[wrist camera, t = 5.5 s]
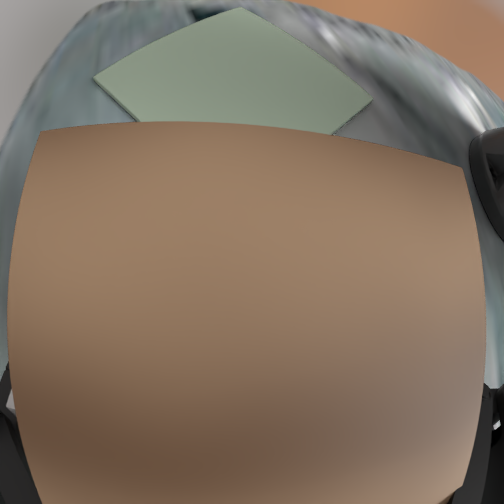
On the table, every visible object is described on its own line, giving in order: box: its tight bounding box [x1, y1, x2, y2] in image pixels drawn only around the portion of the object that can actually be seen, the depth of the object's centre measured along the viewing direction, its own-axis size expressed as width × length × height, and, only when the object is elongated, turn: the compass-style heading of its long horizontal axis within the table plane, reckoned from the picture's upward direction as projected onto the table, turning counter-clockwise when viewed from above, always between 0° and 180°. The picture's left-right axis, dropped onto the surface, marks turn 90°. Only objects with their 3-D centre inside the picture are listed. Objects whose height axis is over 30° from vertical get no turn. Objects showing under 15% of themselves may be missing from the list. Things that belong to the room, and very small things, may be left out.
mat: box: [93, 7, 374, 135], centre depth 21 cm, size 18×18×1 cm
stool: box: [7, 121, 486, 504], centre depth 11 cm, size 10×10×14 cm
